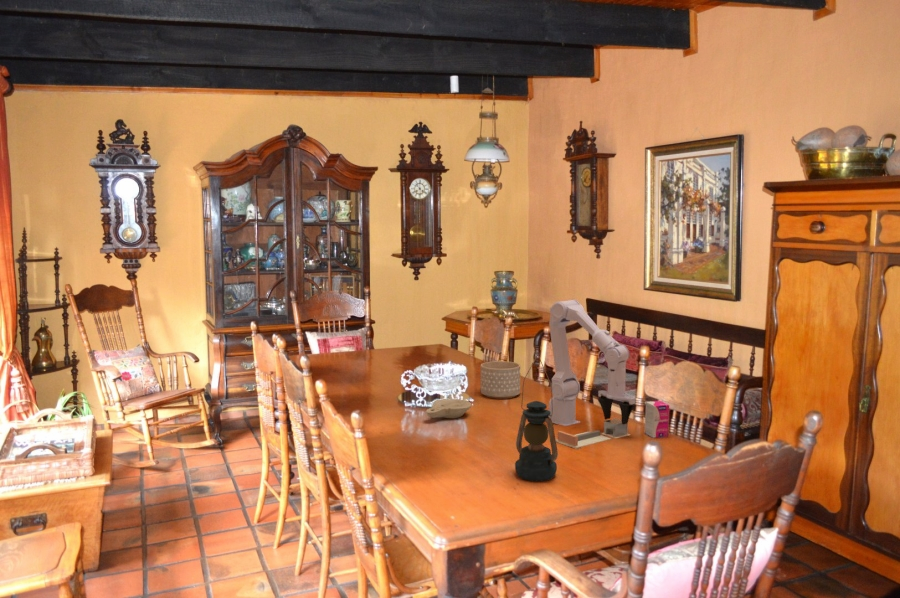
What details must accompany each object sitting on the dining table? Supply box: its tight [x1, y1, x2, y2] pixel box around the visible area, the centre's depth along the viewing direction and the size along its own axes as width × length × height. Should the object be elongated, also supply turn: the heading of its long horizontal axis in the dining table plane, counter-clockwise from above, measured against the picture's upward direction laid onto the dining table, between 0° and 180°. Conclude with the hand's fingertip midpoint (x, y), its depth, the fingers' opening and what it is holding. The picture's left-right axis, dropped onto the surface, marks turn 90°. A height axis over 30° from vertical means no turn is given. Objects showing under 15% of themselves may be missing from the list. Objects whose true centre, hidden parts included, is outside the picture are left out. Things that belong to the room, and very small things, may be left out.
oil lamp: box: [425, 398, 472, 419], centre depth 270 cm, size 21×14×5 cm
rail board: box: [555, 429, 612, 450], centre depth 241 cm, size 10×16×4 cm, turn 126°
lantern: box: [514, 354, 559, 483], centre depth 208 cm, size 14×12×35 cm
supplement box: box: [644, 400, 670, 439], centre depth 246 cm, size 6×6×12 cm
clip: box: [603, 417, 629, 438], centre depth 247 cm, size 5×6×4 cm
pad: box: [600, 432, 631, 439], centre depth 248 cm, size 7×7×1 cm
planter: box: [480, 360, 521, 400], centre depth 304 cm, size 16×16×13 cm
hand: (616, 421), depth 247 cm, fingers open, 7 cm apart
